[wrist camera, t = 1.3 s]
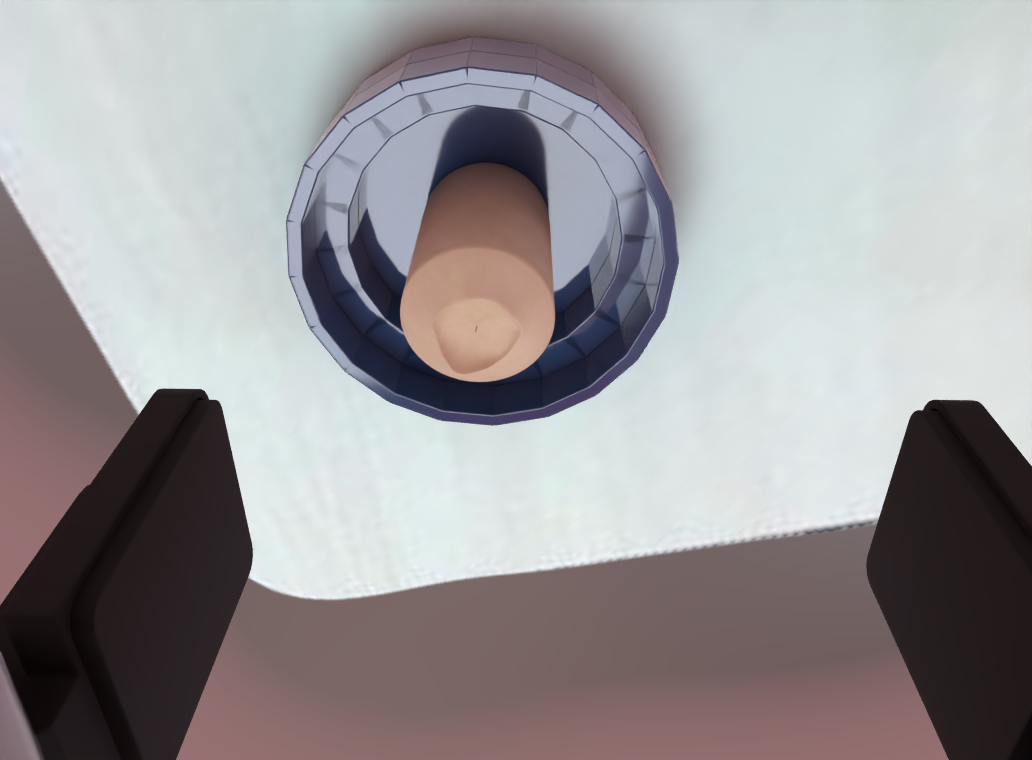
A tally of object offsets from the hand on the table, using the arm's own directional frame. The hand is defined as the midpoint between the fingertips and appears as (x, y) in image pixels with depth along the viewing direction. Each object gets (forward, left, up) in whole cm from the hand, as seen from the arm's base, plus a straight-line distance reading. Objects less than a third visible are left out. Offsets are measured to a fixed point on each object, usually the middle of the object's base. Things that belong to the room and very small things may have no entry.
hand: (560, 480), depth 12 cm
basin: (+3, -7, -26) cm, 27 cm away
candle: (+3, -7, -26) cm, 27 cm away
